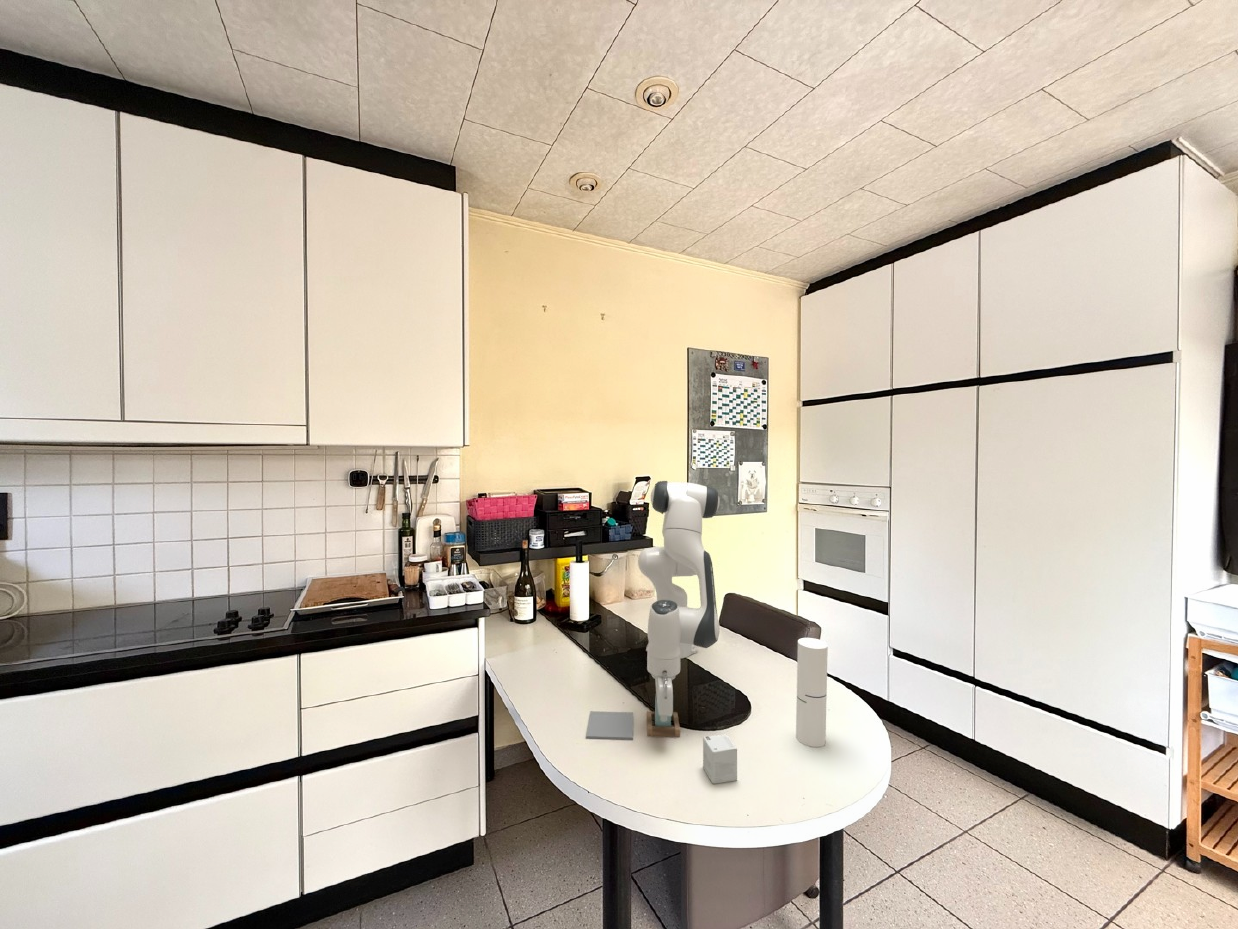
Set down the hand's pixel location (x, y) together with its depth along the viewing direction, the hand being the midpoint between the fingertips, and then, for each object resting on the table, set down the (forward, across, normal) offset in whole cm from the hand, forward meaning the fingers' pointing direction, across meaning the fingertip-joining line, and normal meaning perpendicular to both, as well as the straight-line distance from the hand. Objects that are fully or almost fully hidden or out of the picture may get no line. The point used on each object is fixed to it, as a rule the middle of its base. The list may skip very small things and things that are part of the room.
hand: (663, 714), depth 130 cm
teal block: (+4, 0, 0) cm, 4 cm away
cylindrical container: (+4, -3, -38) cm, 38 cm away
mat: (+4, 0, +14) cm, 14 cm away
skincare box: (+4, -18, -12) cm, 22 cm away
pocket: (+4, 0, 0) cm, 4 cm away
